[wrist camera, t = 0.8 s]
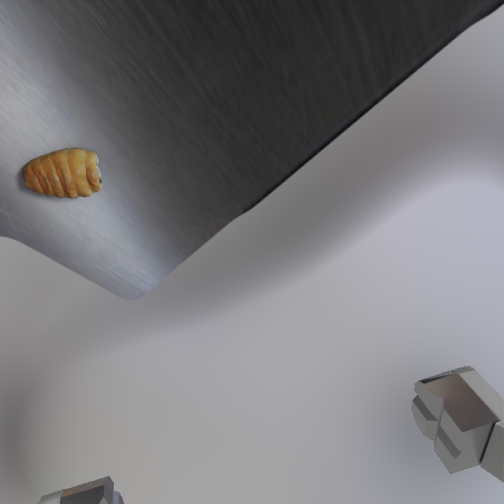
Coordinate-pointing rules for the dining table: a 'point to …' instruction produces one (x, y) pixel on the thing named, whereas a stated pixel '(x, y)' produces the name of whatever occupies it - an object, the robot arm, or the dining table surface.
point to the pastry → (64, 173)
